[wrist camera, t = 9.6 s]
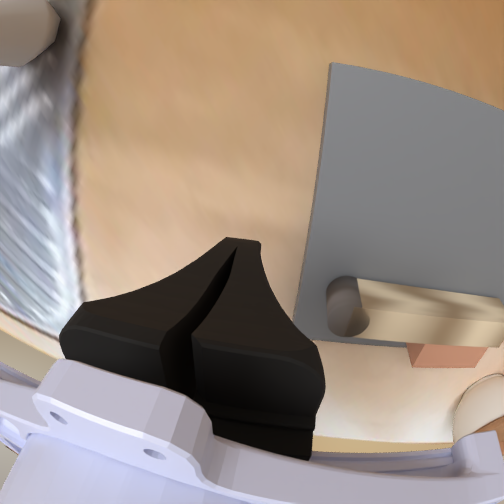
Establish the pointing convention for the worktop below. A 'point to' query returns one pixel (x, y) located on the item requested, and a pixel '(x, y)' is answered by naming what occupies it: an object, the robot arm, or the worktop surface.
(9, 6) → the salt shaker
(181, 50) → the worktop surface
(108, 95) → the worktop surface
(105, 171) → the worktop surface
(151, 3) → the worktop surface
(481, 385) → the lidded jar
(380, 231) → the stool seat
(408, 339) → the stool leg
